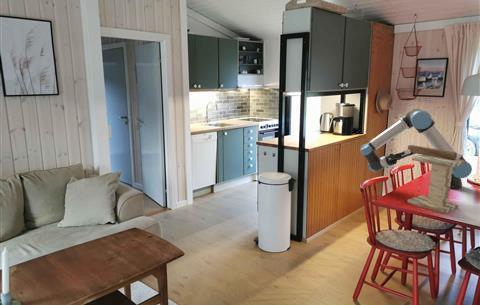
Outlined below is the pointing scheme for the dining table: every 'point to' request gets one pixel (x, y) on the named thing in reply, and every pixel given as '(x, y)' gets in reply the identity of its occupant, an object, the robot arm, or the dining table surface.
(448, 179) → the shelf stand
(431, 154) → the brown block
